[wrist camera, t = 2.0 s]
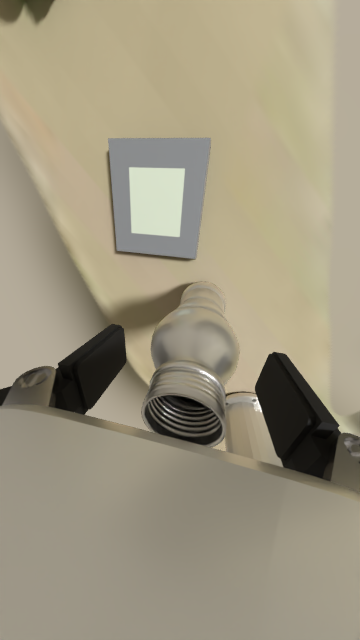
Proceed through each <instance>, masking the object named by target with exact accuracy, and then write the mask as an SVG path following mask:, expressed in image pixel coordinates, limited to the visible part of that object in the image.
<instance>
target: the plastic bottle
mask: <svg viewBox="0 0 360 640" xmlns="http://www.w3.org/2000/svg"><path fill="white" fill-rule="evenodd" d="M225 307H226V299H225V296H224V294H223V292H222V291H221V290H220V289H219V288H218V287H217V286H216V285H214V284H212V283H209V282H196V283H193V284H191V285H190V286H188V287H187V288H186V289H185V291H184V292H183V294H182V297H181V301H180V306H179V307H178V308H177V309H175V310H174V311H172V312H171V313H169V314H168V315H167V316H166V317H165V318H163V319H162V320H161V321H160V322H159V324H158V325H157V327H156V328H155V330H154V333H153V336H152V342H151V356H152V359H153V362H154V365H155V368H156V370H155V372H154V374H153V377H152V379H151V381H150V388H149V390H148V393H147V395H146V398H145V399H144V402H143V406H142V411H141V413H142V418H143V421H144V423H145V424H146V425H147V427H148V428H149V429H150V430H151V431H152V432H153V433H157V434H161V435H164V436H168V437H172V438H176V439H180V440H183V441H187V442H191V443H195V444H199V445H202V446H206V447H210V448H211V447H214V446H216V445H218V444H219V443H220V442H221V441H222V440H223V439H224V437H225V435H226V426H227V423H226V414H225V404H226V395H225V387H224V385H225V384H226V383H227V382H228V380H229V379H230V378H231V377H232V375H233V374H234V372H235V370H236V368H237V364H238V360H239V354H240V350H239V343H238V340H237V337H236V335H235V333H234V331H233V329H232V327H231V326H230V324H229V323H228V321H227V320H226V318H225V316H224V312H225Z"/></svg>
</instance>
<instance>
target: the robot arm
mask: <svg viewBox="0 0 360 640" xmlns="http://www.w3.org/2000/svg"><path fill="white" fill-rule="evenodd" d="M125 363H126V348H125V336H124V329H123V328H122V327H121V326H120V325H115V324H111V325H110V326H108V327H107V328H106V329H104V330H103V331H102V332H100V333H99V334H98V335H96V336H95V337H93V338H92V339H91V340H89V341H88V342H87V343H85V344H84V345H83V346H81V347H80V348H78V349H77V350H76V351H74V352H73V353H72V354H70V355H69V356H68V357H66V358H65V359H63V360H62V361H61V362H59V363H58V366H59V367H58V368H57V369H55V368H54V367H50V366H42V367H38V368H34V369H32V370H29V371H27V372H25V373H24V374H22V375H21V376H19V377H18V378H17V379H16V380H15V382H14V383H13V385H12V386H11V387H7V388H3V389H0V640H360V437H358V436H356V435H353V434H350V433H341V432H340V431H339V430H338V427H339V424H338V423H337V422H336V420H335V419H334V418H333V416H332V415H331V414H330V412H329V411H328V410H327V408H326V407H325V406H324V404H323V403H322V402H321V400H320V399H319V398H318V396H317V395H316V394H315V392H314V391H313V390H312V388H311V387H310V386H309V384H308V383H307V382H306V380H305V379H304V378H303V376H302V375H301V374H300V372H299V371H298V370H297V368H296V367H295V366H294V364H293V363H292V362H291V360H290V359H289V358H288V356H287V355H286V354H283V353H277V352H273V353H272V354H269V356H268V358H267V360H266V362H265V365H264V367H263V369H262V371H261V374H260V376H259V378H258V381H257V383H256V385H255V392H256V394H253V393H235V394H231V395H228V396H226V404H225V414H226V423H227V426H226V435H225V446H226V452H225V451H221V450H217V449H214V448H210V447H206V446H202V445H199V444H195V443H191V442H187V441H183V440H180V439H176V438H172V437H168V436H164V435H161V434H157V433H153V432H149V431H145V430H141V429H137V428H134V427H130V426H126V425H122V424H118V423H114V422H110V421H106V420H102V419H98V418H95V417H90V416H87V415H84V414H85V413H86V412H87V411H88V409H91V408H92V407H93V406H94V405H95V403H96V402H97V401H98V399H99V398H100V397H101V395H102V394H103V393H104V391H105V390H106V389H107V388H108V386H109V385H110V383H111V382H112V381H113V379H114V378H115V377H116V375H117V374H118V373H119V372H120V370H121V369H122V367H123V366H124V365H125ZM74 412H75V413H74Z"/></svg>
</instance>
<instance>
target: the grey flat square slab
mask: <svg viewBox="0 0 360 640" xmlns="http://www.w3.org/2000/svg"><path fill="white" fill-rule="evenodd" d="M108 143H109V156H110V169H111V182H112V195H113V207H114V220H115V233H116V246H117V251H125V252H135V253H144V254H154V255H163V256H173V257H182V258H192V259H196V257H197V249H198V242H199V234H200V226H201V218H202V210H203V202H204V195H205V187H206V179H207V171H208V163H209V155H210V148H211V138H109V139H108Z"/></svg>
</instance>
